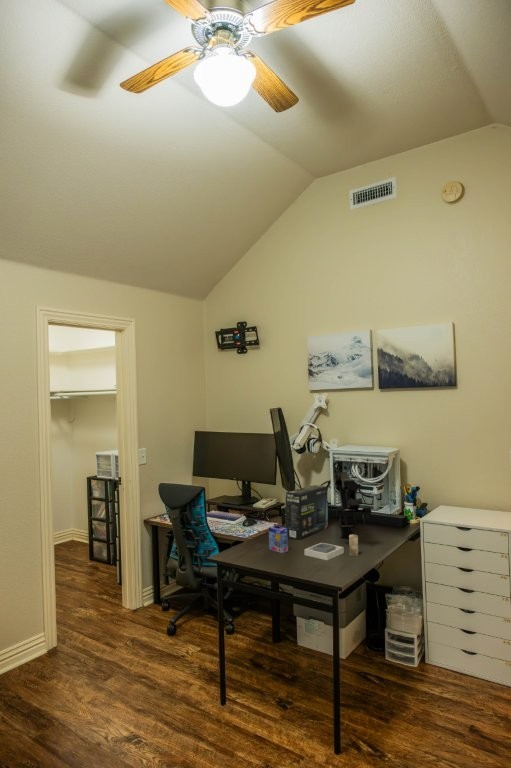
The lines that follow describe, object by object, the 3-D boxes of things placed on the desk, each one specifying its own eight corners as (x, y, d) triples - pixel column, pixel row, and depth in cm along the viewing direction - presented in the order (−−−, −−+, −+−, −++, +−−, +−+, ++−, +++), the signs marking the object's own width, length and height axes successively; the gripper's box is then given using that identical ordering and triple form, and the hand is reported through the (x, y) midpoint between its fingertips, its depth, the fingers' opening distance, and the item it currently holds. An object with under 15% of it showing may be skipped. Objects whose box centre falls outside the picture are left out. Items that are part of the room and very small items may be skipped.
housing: (304, 555, 251) (304, 547, 251) (321, 548, 263) (321, 540, 263) (327, 560, 241) (327, 552, 242) (343, 552, 253) (343, 545, 254)
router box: (300, 540, 279) (299, 494, 280) (284, 537, 285) (283, 492, 287) (329, 527, 308) (328, 485, 309) (314, 525, 314) (313, 484, 316)
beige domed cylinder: (348, 555, 249) (347, 535, 250) (352, 553, 253) (351, 534, 253) (355, 556, 246) (355, 537, 247) (359, 554, 250) (359, 535, 250)
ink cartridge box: (268, 549, 261) (267, 522, 262) (275, 547, 265) (274, 521, 266) (281, 553, 254) (281, 525, 255) (288, 551, 258) (288, 523, 259)
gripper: (336, 492, 263) (340, 518, 252) (370, 492, 262) (375, 518, 252) (334, 503, 271) (337, 528, 260) (367, 502, 270) (372, 528, 260)
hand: (355, 525), depth 258 cm, fingers open, 9 cm apart
